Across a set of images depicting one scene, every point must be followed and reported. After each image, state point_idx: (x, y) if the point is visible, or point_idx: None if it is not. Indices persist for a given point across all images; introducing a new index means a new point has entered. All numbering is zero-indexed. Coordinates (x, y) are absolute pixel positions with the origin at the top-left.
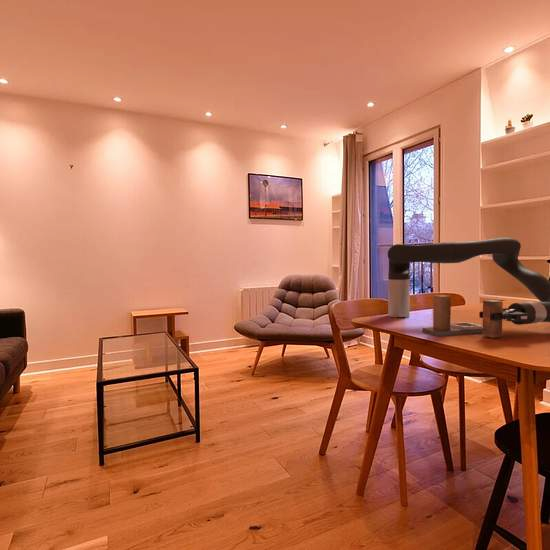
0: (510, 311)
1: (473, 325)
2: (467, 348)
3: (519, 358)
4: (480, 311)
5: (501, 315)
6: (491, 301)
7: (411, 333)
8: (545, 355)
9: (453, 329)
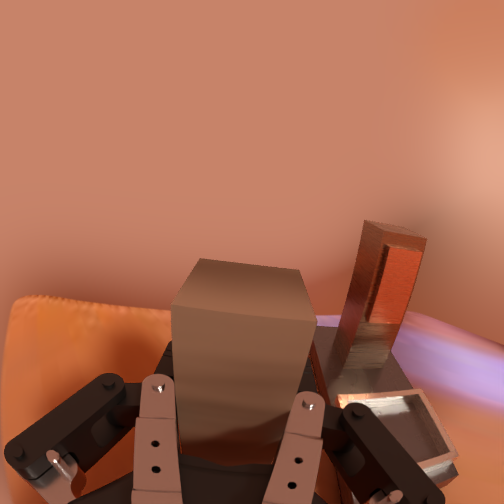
0: (135, 447)
1: None
2: (164, 314)
3: (50, 313)
4: None
5: (155, 373)
6: (214, 261)
7: None
8: (3, 356)
9: (346, 378)
